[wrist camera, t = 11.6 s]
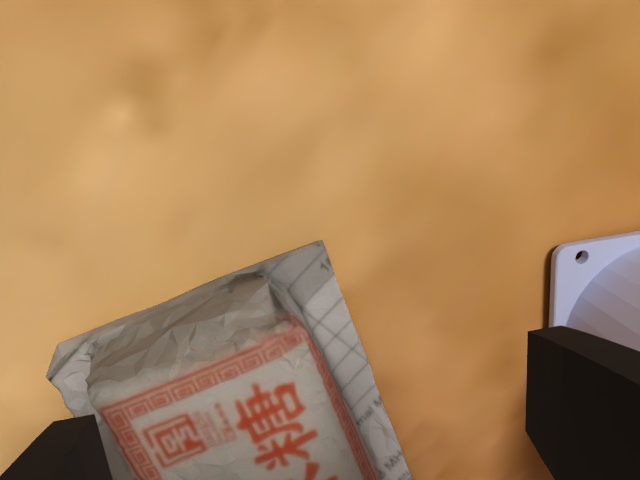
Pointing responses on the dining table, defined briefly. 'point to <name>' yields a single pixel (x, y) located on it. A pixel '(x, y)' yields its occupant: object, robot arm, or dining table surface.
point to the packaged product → (236, 382)
